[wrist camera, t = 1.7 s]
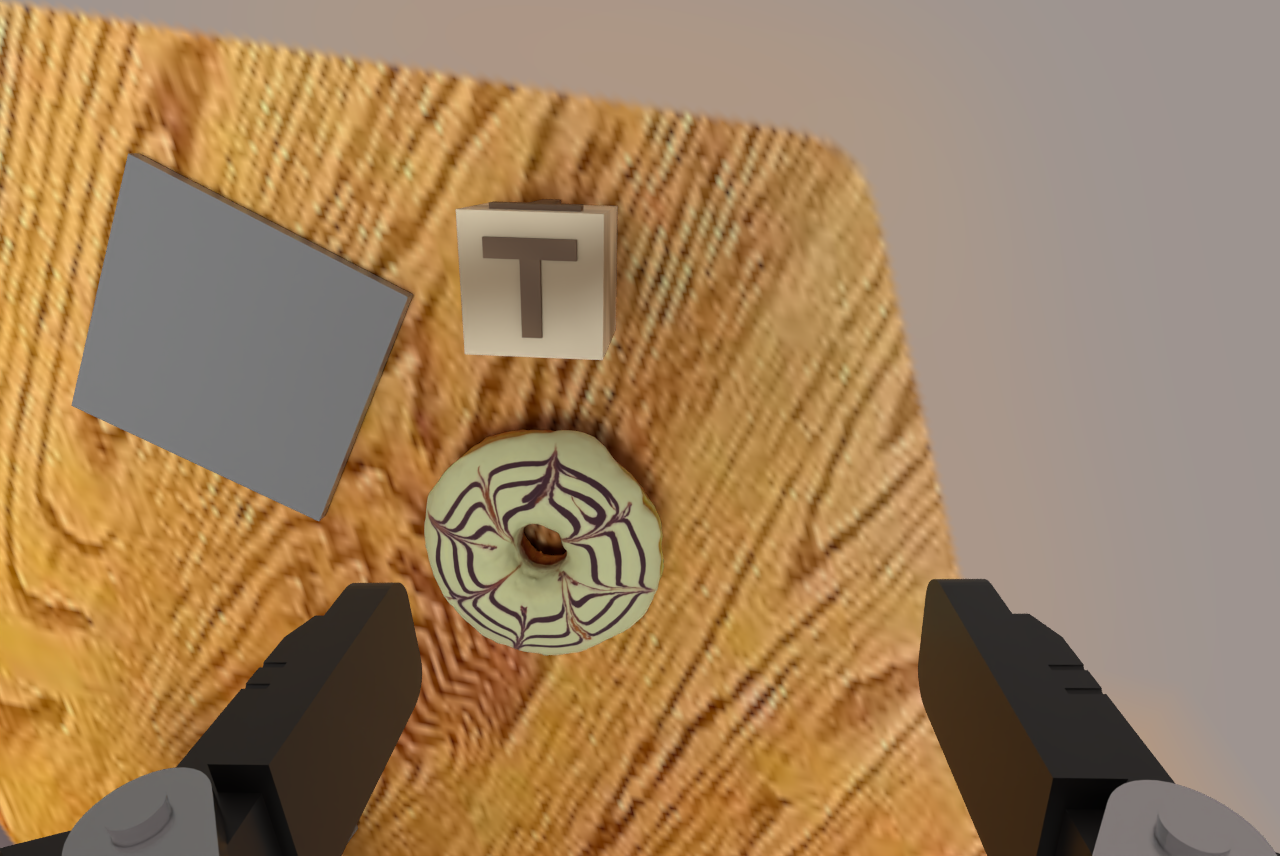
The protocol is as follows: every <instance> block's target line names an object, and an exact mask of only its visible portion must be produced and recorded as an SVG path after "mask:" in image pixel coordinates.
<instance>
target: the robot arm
mask: <svg viewBox="0 0 1280 856" xmlns="http://www.w3.org/2000/svg"><path fill="white" fill-rule="evenodd" d="M918 679H919V687H920V693H921V698H922V702H923V705H924V708H925V710H926V713H927V715H928V718H929V720H930V722H931V725H932V727H933V729H934V732H935V734H936V736H937V739H938V741H939V743H940V746H941V748H942V750H943V753H944V755H945V757H946V760H947V762H948V765H949V767H950V769H951V772H952V774H953V776H954V779H955V781H956V783H957V786H958V788H959V790H960V793H961V795H962V797H963V800H964V802H965V805H966V807H967V809H968V812H969V814H970V816H971V819H972V821H973V823H974V826H975V828H976V830H977V833H978V835H979V837H980V840H981V842H982V845H983V847H984V849H985V852H986V854H987V856H1280V854H1279V853H1276V852H1275V851H1274V850H1273V848H1272V847H1271V845H1270V844H1269V843H1268V842H1267V840H1266V839H1265V838H1264V837H1263V836H1262V835H1261V834H1260V833H1259V832H1258V831H1257V830H1256V829H1255V828H1254V827H1253V826H1252V825H1251V824H1250V823H1249V822H1247V821H1246V820H1245V819H1244V818H1243V817H1241V816H1240V815H1239V814H1237V813H1235V812H1234V811H1233V810H1231V809H1230V808H1228V807H1227V806H1225V805H1223V804H1222V803H1220V802H1218V801H1217V800H1215V799H1213V798H1211V797H1209V796H1207V795H1205V794H1202V793H1200V792H1198V791H1195V790H1192V789H1190V788H1187V787H1184V786H1181V785H1177V784H1175V783H1174V781H1173V780H1172V779H1171V777H1170V776H1169V775H1168V774H1167V772H1166V771H1165V770H1164V768H1163V767H1162V766H1161V765H1160V763H1159V762H1158V761H1157V759H1156V758H1155V757H1154V755H1153V754H1152V753H1151V752H1150V750H1149V749H1148V748H1147V746H1146V745H1145V744H1144V743H1143V741H1142V740H1141V739H1140V737H1139V736H1138V735H1137V733H1136V732H1135V731H1134V730H1133V728H1132V727H1131V726H1130V724H1129V723H1128V722H1127V721H1126V719H1125V718H1124V717H1123V715H1122V714H1121V713H1120V711H1119V710H1118V709H1117V708H1116V706H1115V705H1114V704H1113V703H1112V701H1111V700H1110V698H1109V697H1108V696H1107V695H1106V694H1103V693H1102V690H1101V689H1102V688H1101V687H1100V686H1099V684H1098V683H1097V682H1096V680H1095V679H1094V678H1093V676H1092V675H1091V674H1090V672H1088V670H1084V667H1083V663H1082V662H1081V661H1080V659H1079V658H1078V657H1077V656H1076V654H1075V653H1074V652H1073V651H1072V649H1071V648H1070V647H1069V645H1068V644H1067V643H1066V641H1065V640H1064V639H1063V637H1061V636H1060V635H1059V634H1057V633H1056V632H1054V631H1053V630H1051V629H1050V628H1049V627H1047V626H1046V625H1044V624H1043V623H1041V622H1040V621H1038V620H1037V619H1036V618H1034V617H1033V616H1031V615H1030V614H1012V613H1011V611H1010V610H1009V609H1008V607H1007V606H1006V604H1005V603H1004V602H1003V600H1002V599H1001V597H1000V596H999V594H998V593H997V592H996V590H995V589H994V587H993V586H992V585H991V583H990V582H989V581H988V580H986V579H933V580H931V581H930V582H929V584H928V587H927V591H926V599H925V608H924V617H923V626H922V634H921V643H920V652H919V661H918ZM421 682H422V663H421V657H420V653H419V648H418V643H417V638H416V633H415V628H414V623H413V618H412V613H411V608H410V604H409V599H408V594H407V591H406V589H405V587H404V586H403V585H402V584H401V583H352V584H350V585H348V586H347V587H346V588H345V590H344V591H343V592H342V593H341V595H340V596H339V597H338V599H337V600H336V601H335V602H334V604H333V605H332V606H331V607H330V609H329V610H328V611H327V613H326V614H325V615H324V616H314V617H313V618H311V619H310V620H308V621H307V622H306V623H304V624H303V625H301V626H300V627H298V628H297V629H296V630H294V631H293V632H291V633H290V634H288V635H287V636H286V637H284V638H283V640H282V641H281V642H280V643H279V644H278V646H277V647H276V648H275V649H274V650H273V652H272V653H271V654H270V655H269V656H268V658H267V659H266V660H265V661H264V665H263V668H258V670H257V671H256V672H255V673H254V674H253V676H252V677H251V678H250V679H249V680H248V682H247V683H246V688H245V689H241V690H240V691H239V692H238V694H237V695H236V696H235V697H234V698H233V700H232V701H231V702H230V703H229V704H228V706H227V707H226V708H225V709H224V710H223V712H222V713H221V714H220V715H219V716H218V718H217V719H216V720H215V721H214V722H213V724H212V725H211V726H210V727H209V728H208V730H207V731H206V732H205V733H204V734H203V736H202V737H201V738H200V739H199V740H198V742H197V743H196V744H195V745H194V746H193V748H192V749H191V750H190V751H189V752H188V754H187V755H186V756H185V757H184V758H183V760H182V761H181V762H180V763H179V764H178V766H177V767H176V768H170V769H164V770H160V771H156V772H152V773H150V774H147V775H144V776H141V777H139V778H137V779H135V780H133V781H130V782H128V783H126V784H125V785H123V786H121V787H119V788H118V789H116V790H114V791H113V792H111V793H110V794H108V795H107V796H105V797H104V798H103V799H101V800H100V801H99V802H98V803H96V804H95V805H94V806H93V807H92V808H91V809H90V810H89V811H88V812H86V813H85V814H84V815H83V817H82V818H81V819H80V820H79V821H78V822H77V823H76V825H75V826H74V828H73V829H72V830H71V831H67V832H63V833H59V834H55V835H51V836H47V837H43V838H39V839H35V840H31V841H27V842H23V843H19V844H15V845H11V846H7V847H4V848H0V856H341V855H342V853H343V851H344V849H345V847H346V845H347V843H348V841H349V839H350V837H351V835H352V833H353V831H354V829H355V827H356V825H357V823H358V821H359V819H360V817H361V815H362V813H363V811H364V809H365V807H366V805H367V803H368V800H369V798H370V796H371V794H372V792H373V790H374V788H375V786H376V784H377V782H378V780H379V778H380V776H381V774H382V772H383V770H384V768H385V766H386V764H387V762H388V760H389V758H390V756H391V754H392V752H393V750H394V748H395V746H396V744H397V742H398V740H399V738H400V736H401V734H402V732H403V730H404V728H405V726H406V724H407V722H408V719H409V717H410V715H411V713H412V711H413V709H414V707H415V705H416V703H417V700H418V697H419V693H420V688H421Z"/></svg>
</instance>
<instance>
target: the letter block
mask: <svg viewBox="0 0 1280 856" xmlns="http://www.w3.org/2000/svg"><path fill="white" fill-rule="evenodd" d="M617 216H618V206H604V205H583V204H561V200H553V199H542V200H538V201H534V202H530V203H520V202H489V203H486V204H481V205H475V206H470V207H465V208H460V209H456V222H457V238H458V254H459V269H460V285H461V301H462V317H463V333H464V349H465V354H471V355H495V356H518V357H541V358H565V359H588V360H603V358H604V356H605V354H606V351H607V349H608V347H609V344H610V342H611V340H612V337H613V335H614V333H615V330H616V282H617Z"/></svg>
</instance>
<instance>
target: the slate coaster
mask: <svg viewBox="0 0 1280 856" xmlns="http://www.w3.org/2000/svg"><path fill="white" fill-rule="evenodd" d="M412 297H413V294H411V293H409V292H407V291H405V290H403V289H401V288H399V287H397V286H396V285H394V284H392V283H390V282H388V281H386V280H384V279H382V278H380V277H378V276H376V275H374V274H372V273H370V272H368V271H366V270H364V269H362V268H361V267H359V266H357V265H355V264H353V263H351V262H349V261H347V260H345V259H343V258H341V257H339V256H337V255H335V254H333V253H331V252H329V251H327V250H326V249H324V248H322V247H320V246H318V245H316V244H314V243H312V242H310V241H308V240H306V239H304V238H302V237H300V236H298V235H296V234H294V233H293V232H291V231H289V230H287V229H285V228H283V227H281V226H279V225H277V224H275V223H273V222H271V221H269V220H267V219H265V218H263V217H261V216H259V215H258V214H256V213H254V212H252V211H250V210H248V209H246V208H244V207H242V206H240V205H238V204H236V203H234V202H232V201H230V200H228V199H226V198H224V197H223V196H221V195H219V194H217V193H215V192H213V191H211V190H209V189H207V188H205V187H203V186H201V185H199V184H197V183H195V182H193V181H191V180H189V179H188V178H186V177H184V176H182V175H180V174H178V173H176V172H174V171H172V170H170V169H168V168H166V167H164V166H162V165H160V164H158V163H156V162H154V161H153V160H151V159H149V158H147V157H145V156H143V155H141V154H128V157H127V162H126V166H125V171H124V175H123V179H122V184H121V188H120V193H119V197H118V202H117V206H116V211H115V215H114V219H113V224H112V228H111V233H110V237H109V242H108V246H107V251H106V255H105V259H104V264H103V268H102V273H101V277H100V282H99V286H98V291H97V295H96V299H95V304H94V308H93V313H92V317H91V322H90V326H89V331H88V335H87V339H86V344H85V348H84V353H83V357H82V362H81V366H80V371H79V375H78V379H77V384H76V388H75V393H74V397H73V402H72V406H74V407H76V408H78V409H80V410H82V411H84V412H86V413H89V414H91V415H93V416H95V417H97V418H99V419H101V420H103V421H106V422H108V423H110V424H112V425H114V426H116V427H118V428H121V429H123V430H125V431H127V432H129V433H131V434H133V435H136V436H138V437H140V438H142V439H144V440H146V441H148V442H150V443H153V444H155V445H157V446H159V447H161V448H163V449H165V450H168V451H170V452H172V453H174V454H176V455H178V456H180V457H183V458H185V459H187V460H189V461H191V462H193V463H195V464H197V465H200V466H202V467H204V468H206V469H208V470H210V471H212V472H215V473H217V474H219V475H221V476H223V477H225V478H227V479H230V480H232V481H234V482H236V483H238V484H240V485H242V486H244V487H247V488H249V489H251V490H253V491H255V492H257V493H259V494H262V495H264V496H266V497H268V498H270V499H272V500H274V501H277V502H279V503H281V504H283V505H285V506H287V507H289V508H291V509H294V510H296V511H298V512H300V513H302V514H304V515H306V516H309V517H311V518H313V519H315V520H317V521H320V520H321V519H322V518H323V517H324V516H325V515H326V513H327V510H328V508H329V505H330V502H331V500H332V497H333V495H334V492H335V490H336V487H337V485H338V482H339V480H340V477H341V475H342V472H343V470H344V467H345V465H346V462H347V460H348V457H349V455H350V452H351V450H352V447H353V445H354V442H355V440H356V437H357V435H358V432H359V430H360V427H361V425H362V422H363V420H364V417H365V415H366V412H367V410H368V407H369V405H370V402H371V400H372V397H373V394H374V392H375V389H376V387H377V384H378V382H379V379H380V377H381V374H382V372H383V369H384V367H385V364H386V362H387V359H388V357H389V354H390V352H391V349H392V347H393V344H394V342H395V339H396V337H397V334H398V332H399V329H400V327H401V324H402V322H403V319H404V317H405V314H406V312H407V309H408V307H409V304H410V302H411V299H412Z"/></svg>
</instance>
